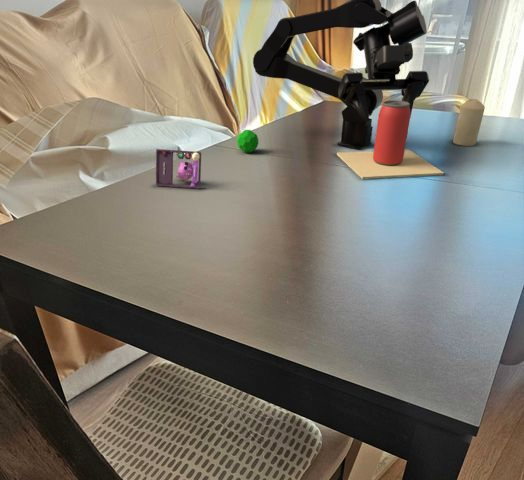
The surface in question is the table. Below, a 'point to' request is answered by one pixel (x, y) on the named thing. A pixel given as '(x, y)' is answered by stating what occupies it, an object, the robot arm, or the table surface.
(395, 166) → the centre mat
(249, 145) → the polyhedron
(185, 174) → the packaged toy box
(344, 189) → the table surface
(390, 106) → the beer can
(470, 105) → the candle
